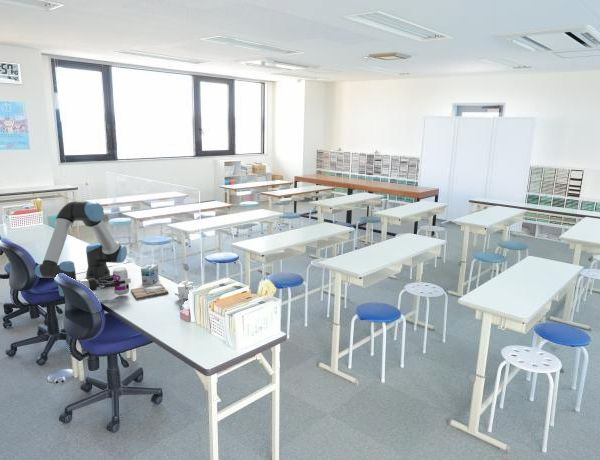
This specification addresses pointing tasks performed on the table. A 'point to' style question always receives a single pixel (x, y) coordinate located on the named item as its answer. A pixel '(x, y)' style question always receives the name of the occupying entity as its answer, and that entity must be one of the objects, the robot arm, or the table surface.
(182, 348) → the table surface
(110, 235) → the robot arm
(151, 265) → the light bulb box
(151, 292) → the gear board
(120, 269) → the supplement can
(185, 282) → the mechanical part
